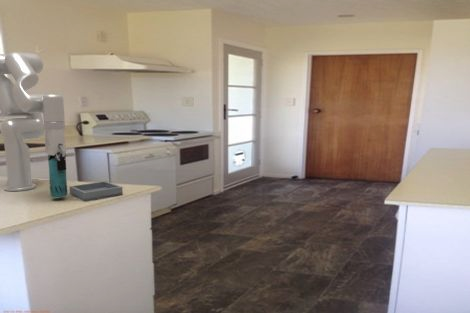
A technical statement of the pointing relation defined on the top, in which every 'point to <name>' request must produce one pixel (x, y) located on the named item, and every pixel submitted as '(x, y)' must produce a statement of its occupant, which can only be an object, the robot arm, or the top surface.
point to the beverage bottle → (57, 180)
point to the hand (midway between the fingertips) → (57, 168)
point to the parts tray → (95, 191)
